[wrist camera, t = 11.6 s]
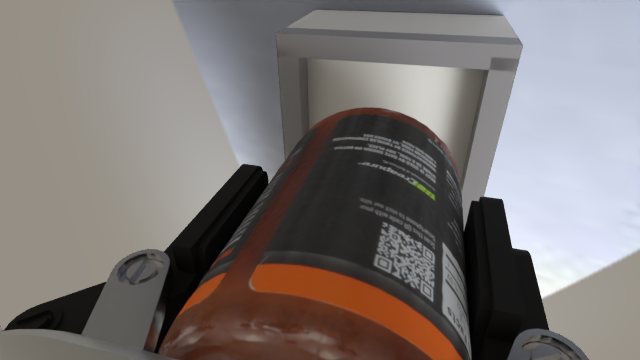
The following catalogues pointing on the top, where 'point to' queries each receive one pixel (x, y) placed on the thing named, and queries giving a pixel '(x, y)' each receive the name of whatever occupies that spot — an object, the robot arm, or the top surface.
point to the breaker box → (404, 77)
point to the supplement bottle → (341, 254)
